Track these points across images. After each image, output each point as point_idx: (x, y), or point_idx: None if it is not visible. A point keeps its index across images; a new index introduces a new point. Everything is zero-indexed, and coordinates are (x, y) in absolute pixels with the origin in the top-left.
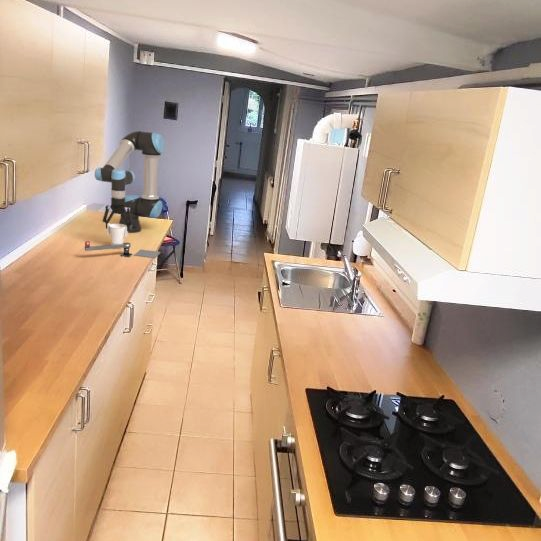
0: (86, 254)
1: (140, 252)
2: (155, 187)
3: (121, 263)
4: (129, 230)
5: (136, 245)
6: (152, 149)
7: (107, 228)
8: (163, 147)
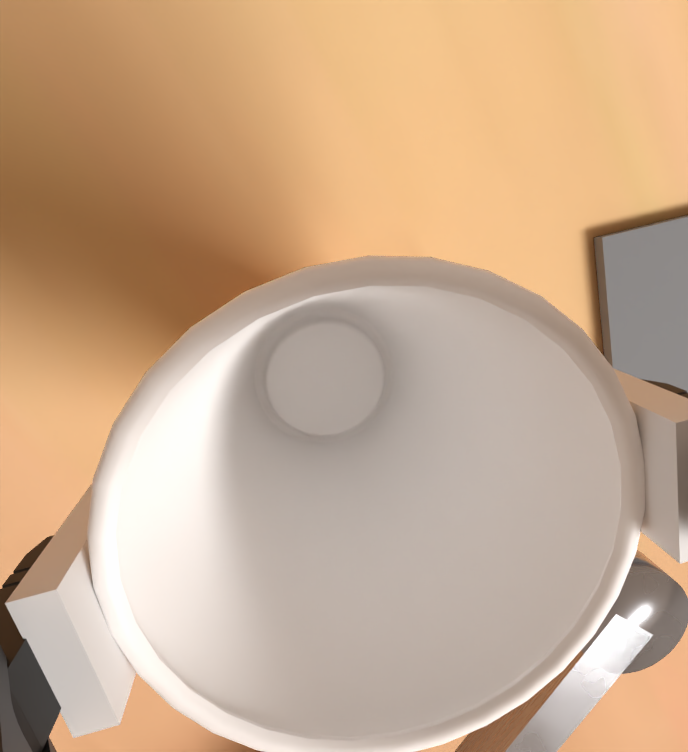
0: (188, 743)
1: (651, 362)
2: None
3: (609, 735)
4: (648, 380)
5: (440, 18)
6: None
7: None
8: None
